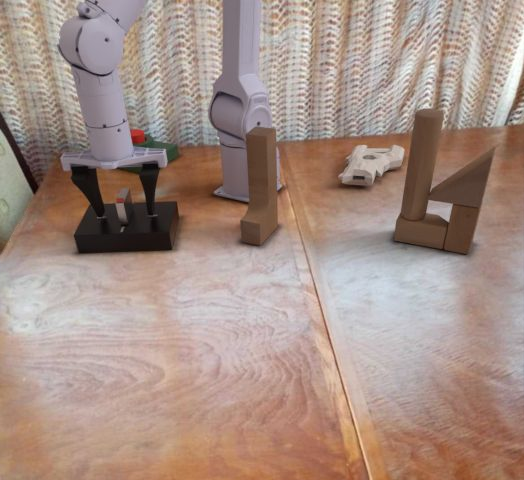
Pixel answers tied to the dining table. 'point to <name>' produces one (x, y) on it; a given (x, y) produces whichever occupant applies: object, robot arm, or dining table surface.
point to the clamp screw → (124, 206)
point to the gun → (370, 164)
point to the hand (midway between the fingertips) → (126, 213)
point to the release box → (150, 143)
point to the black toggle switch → (128, 229)
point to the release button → (137, 136)
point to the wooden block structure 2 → (440, 191)
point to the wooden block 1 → (261, 186)
